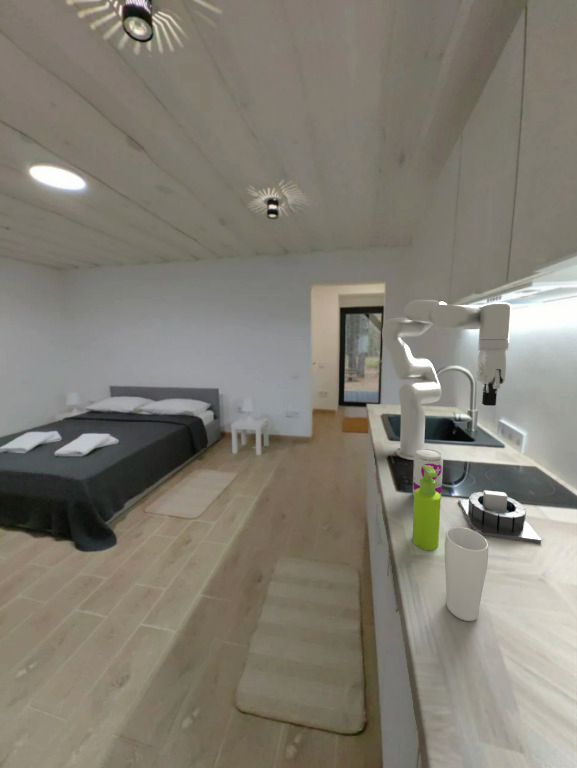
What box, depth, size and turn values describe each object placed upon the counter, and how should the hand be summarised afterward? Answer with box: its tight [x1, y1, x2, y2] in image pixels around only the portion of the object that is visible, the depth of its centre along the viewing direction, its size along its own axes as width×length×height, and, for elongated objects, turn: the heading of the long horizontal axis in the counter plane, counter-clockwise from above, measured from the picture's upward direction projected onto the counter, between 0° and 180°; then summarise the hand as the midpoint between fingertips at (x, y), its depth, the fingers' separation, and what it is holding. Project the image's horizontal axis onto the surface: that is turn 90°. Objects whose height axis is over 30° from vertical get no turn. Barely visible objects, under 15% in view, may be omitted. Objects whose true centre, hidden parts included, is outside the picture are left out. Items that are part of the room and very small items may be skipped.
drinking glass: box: [444, 526, 489, 622], centre depth 55 cm, size 7×7×15 cm
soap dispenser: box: [412, 465, 442, 551], centre depth 73 cm, size 6×7×20 cm
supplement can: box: [412, 448, 444, 497], centre depth 94 cm, size 8×8×15 cm
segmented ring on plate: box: [458, 491, 542, 544], centre depth 82 cm, size 16×14×5 cm
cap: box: [481, 489, 509, 513], centre depth 82 cm, size 7×7×7 cm
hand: (488, 404), depth 93 cm, fingers closed
